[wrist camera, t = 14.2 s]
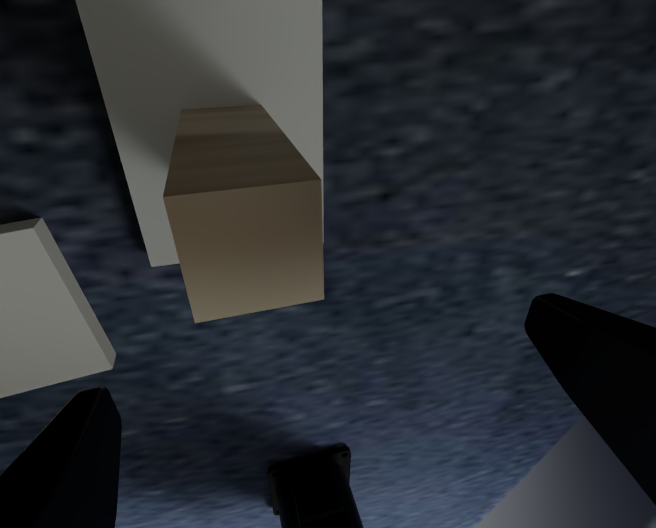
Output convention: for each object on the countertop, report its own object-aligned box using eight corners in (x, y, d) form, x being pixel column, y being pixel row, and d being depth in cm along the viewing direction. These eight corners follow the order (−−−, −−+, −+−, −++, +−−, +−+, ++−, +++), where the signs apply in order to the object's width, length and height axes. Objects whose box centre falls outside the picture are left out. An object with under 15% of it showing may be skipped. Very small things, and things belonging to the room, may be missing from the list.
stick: (268, 178, 17) (324, 299, 9) (196, 186, 16) (195, 322, 9) (261, 104, 15) (321, 179, 8) (181, 109, 14) (163, 197, 7)
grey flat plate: (318, 234, 20) (323, 243, 19) (153, 256, 18) (151, 267, 17) (315, 1, 15) (322, -1, 14) (82, -3, 13) (73, -6, 12)
